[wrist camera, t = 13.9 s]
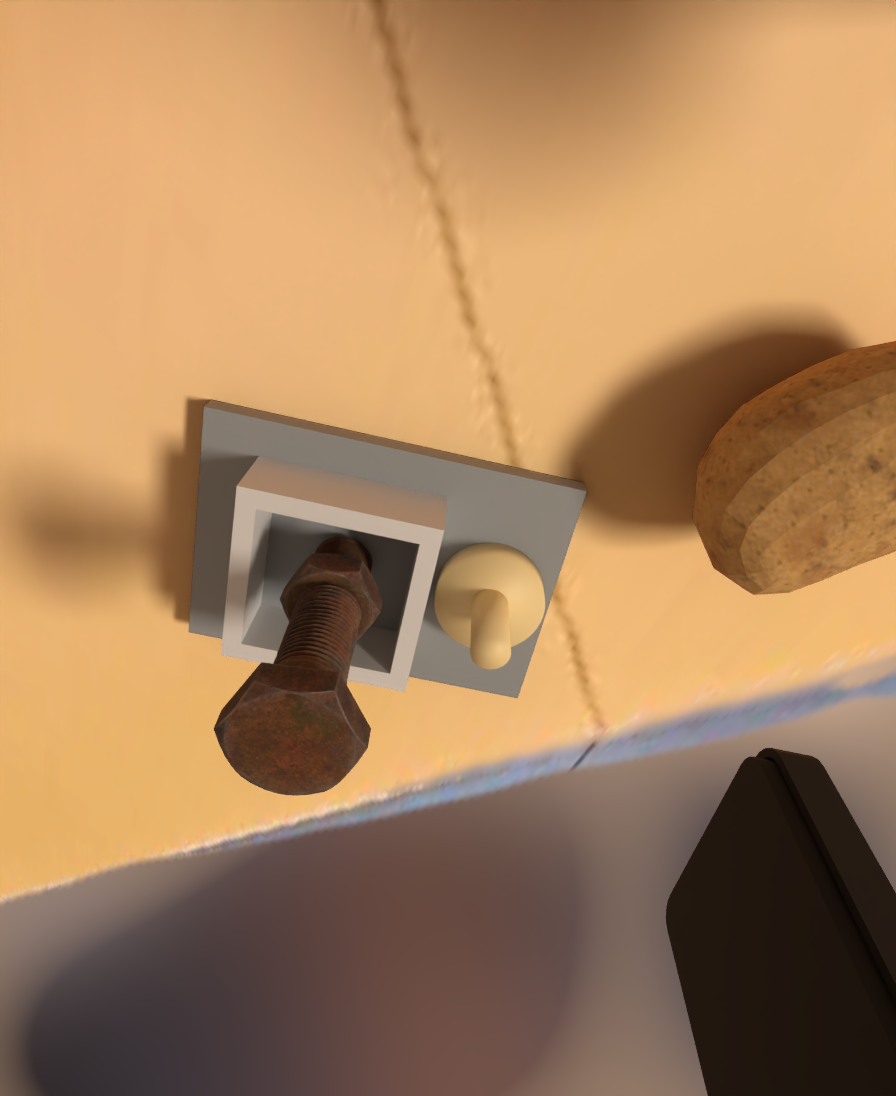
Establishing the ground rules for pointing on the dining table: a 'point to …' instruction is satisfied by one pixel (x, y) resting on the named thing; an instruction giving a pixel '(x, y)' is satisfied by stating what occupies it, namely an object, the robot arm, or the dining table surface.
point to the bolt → (307, 680)
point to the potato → (804, 476)
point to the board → (378, 546)
